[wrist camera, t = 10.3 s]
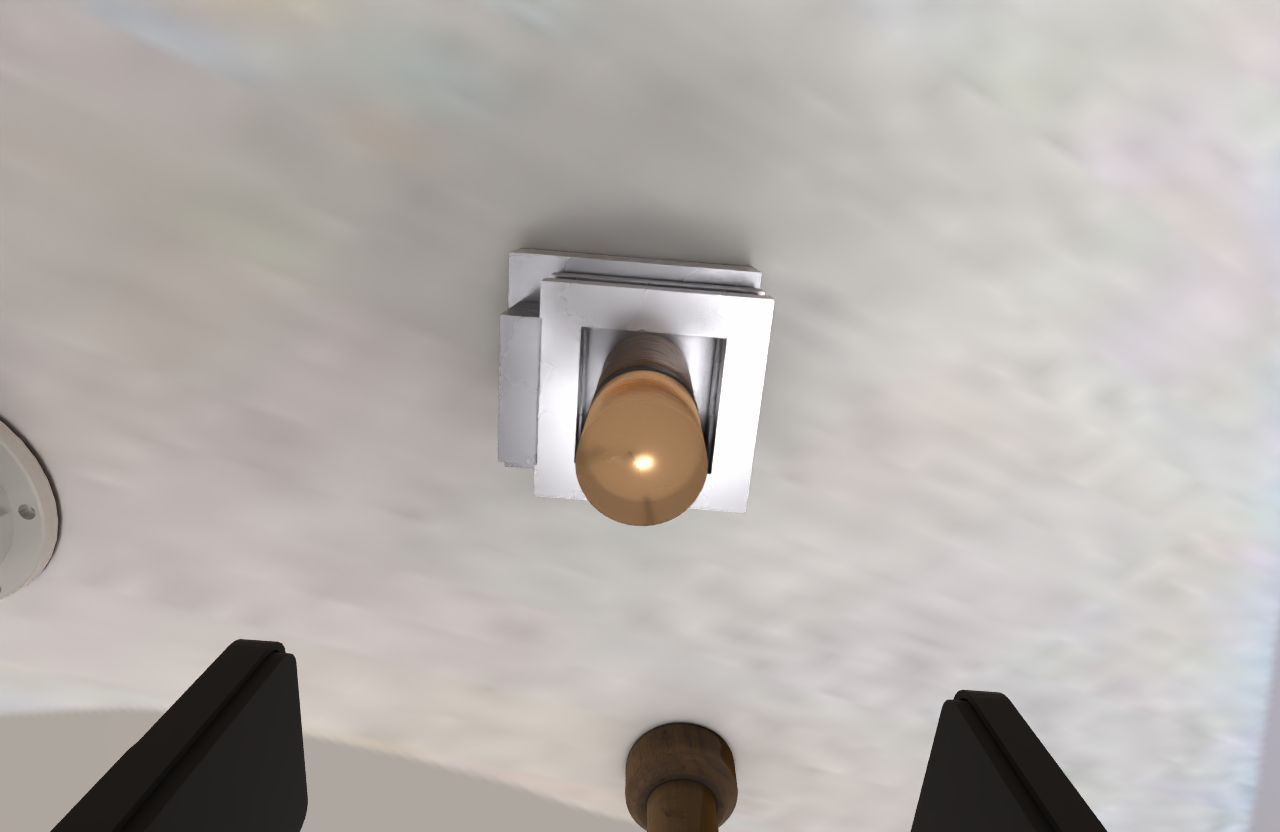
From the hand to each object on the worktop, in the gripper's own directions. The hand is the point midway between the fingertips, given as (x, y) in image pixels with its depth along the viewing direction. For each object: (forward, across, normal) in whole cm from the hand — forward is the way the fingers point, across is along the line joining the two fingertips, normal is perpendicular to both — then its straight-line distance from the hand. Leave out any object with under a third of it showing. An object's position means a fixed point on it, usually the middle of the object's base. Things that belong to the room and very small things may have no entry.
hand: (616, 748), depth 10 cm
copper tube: (+22, 0, 0) cm, 22 cm away
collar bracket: (+25, 0, 0) cm, 25 cm away
